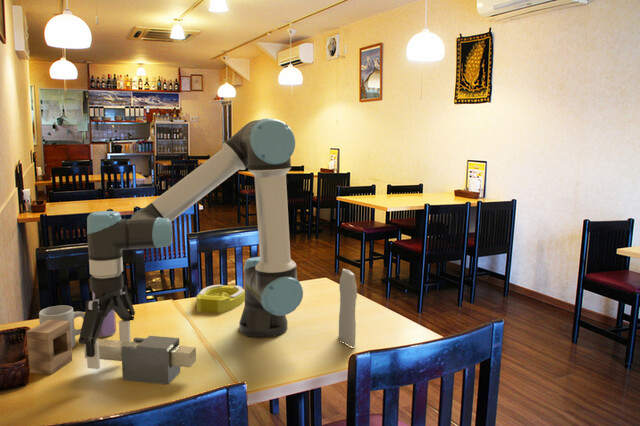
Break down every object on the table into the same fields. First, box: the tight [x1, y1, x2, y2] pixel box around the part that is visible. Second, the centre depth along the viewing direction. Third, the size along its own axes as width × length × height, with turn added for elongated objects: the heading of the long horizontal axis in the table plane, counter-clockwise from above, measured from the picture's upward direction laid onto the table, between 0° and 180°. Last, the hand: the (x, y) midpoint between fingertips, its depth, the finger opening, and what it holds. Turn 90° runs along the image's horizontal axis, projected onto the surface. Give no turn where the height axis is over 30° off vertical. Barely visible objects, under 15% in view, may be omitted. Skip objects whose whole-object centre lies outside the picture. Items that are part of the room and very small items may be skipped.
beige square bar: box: [83, 338, 197, 368], centre depth 119 cm, size 28×4×4 cm, turn 81°
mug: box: [38, 305, 85, 349], centre depth 135 cm, size 12×8×11 cm
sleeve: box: [121, 335, 181, 385], centre depth 119 cm, size 12×6×9 cm, turn 81°
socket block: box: [25, 320, 73, 376], centre depth 123 cm, size 6×8×11 cm
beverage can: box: [91, 291, 117, 338], centre depth 144 cm, size 6×6×15 cm
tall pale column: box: [338, 268, 358, 347], centre depth 140 cm, size 11×4×22 cm, turn 21°
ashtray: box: [196, 284, 245, 314], centre depth 174 cm, size 16×21×5 cm
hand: (110, 355), depth 120 cm, fingers open, 13 cm apart
